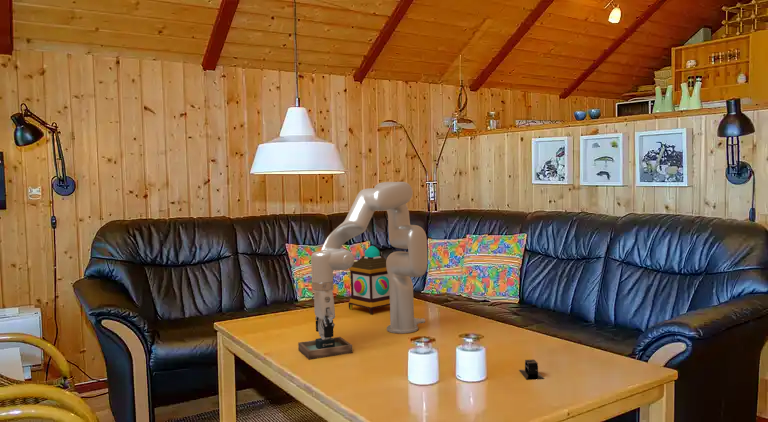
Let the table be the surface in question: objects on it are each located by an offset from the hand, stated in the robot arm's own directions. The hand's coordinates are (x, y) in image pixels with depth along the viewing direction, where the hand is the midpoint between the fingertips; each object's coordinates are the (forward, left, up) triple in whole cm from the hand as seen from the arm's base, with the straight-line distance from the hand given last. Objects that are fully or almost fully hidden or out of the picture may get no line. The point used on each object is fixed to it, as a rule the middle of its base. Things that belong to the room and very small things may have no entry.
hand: (324, 334), depth 213 cm
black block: (-48, +55, -7) cm, 73 cm away
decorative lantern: (-42, -56, -7) cm, 70 cm away
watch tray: (0, 0, -6) cm, 6 cm away
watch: (0, 0, -5) cm, 5 cm away
